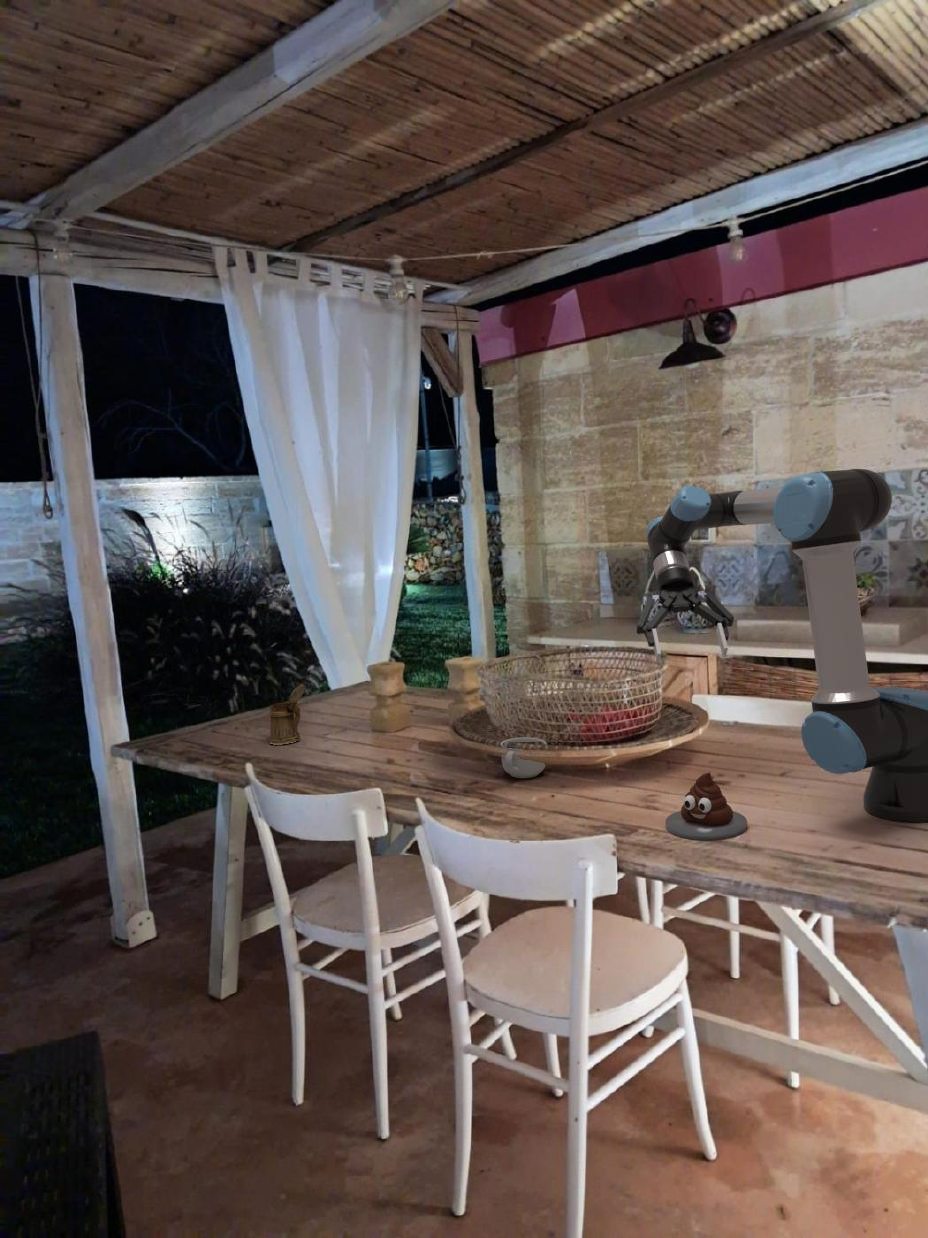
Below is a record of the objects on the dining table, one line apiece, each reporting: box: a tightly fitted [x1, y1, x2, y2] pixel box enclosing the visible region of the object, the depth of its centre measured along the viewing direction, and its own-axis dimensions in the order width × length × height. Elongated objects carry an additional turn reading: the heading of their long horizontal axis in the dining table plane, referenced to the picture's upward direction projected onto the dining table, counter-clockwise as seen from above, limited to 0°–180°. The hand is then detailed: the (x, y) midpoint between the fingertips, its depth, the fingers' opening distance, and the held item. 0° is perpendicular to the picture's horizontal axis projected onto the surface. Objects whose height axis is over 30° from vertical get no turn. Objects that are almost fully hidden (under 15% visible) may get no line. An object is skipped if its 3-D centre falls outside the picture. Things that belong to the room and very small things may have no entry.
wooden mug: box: [268, 682, 306, 743], centre depth 272 cm, size 9×14×18 cm, turn 61°
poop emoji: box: [680, 771, 734, 826], centre depth 176 cm, size 10×8×9 cm
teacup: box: [499, 736, 547, 779], centre depth 218 cm, size 14×11×8 cm
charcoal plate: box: [665, 810, 748, 842], centre depth 176 cm, size 15×15×1 cm
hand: (692, 655), depth 191 cm, fingers open, 13 cm apart
